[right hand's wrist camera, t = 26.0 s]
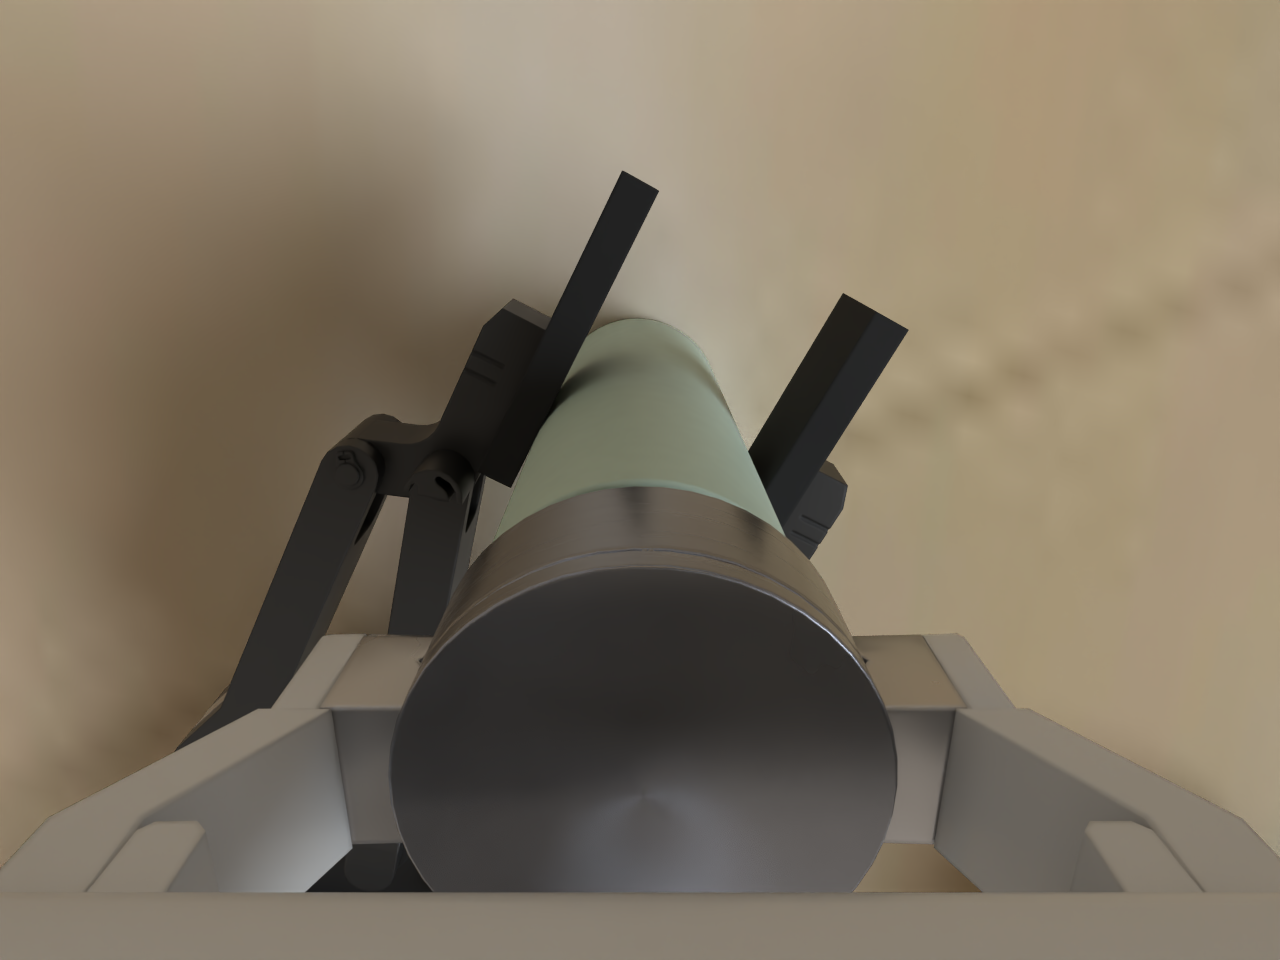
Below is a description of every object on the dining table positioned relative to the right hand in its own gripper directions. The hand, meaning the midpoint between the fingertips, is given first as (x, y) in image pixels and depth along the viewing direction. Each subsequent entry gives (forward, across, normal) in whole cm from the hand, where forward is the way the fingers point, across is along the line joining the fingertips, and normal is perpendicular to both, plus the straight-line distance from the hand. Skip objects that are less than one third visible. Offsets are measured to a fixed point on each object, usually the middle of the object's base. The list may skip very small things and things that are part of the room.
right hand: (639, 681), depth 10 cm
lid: (-2, 0, 0) cm, 2 cm away
